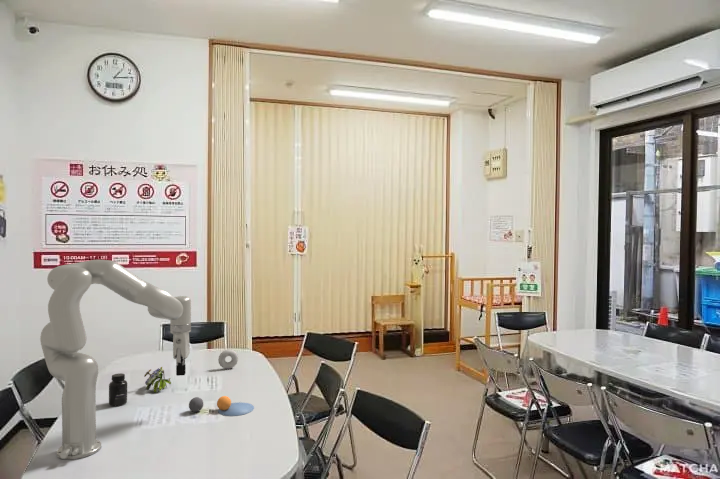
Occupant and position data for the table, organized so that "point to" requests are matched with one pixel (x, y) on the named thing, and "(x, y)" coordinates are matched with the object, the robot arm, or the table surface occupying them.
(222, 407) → the object ball
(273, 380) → the table surface
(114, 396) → the supplement bottle
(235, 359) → the donut
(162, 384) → the passion flower
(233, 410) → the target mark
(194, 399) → the dark gray ball
